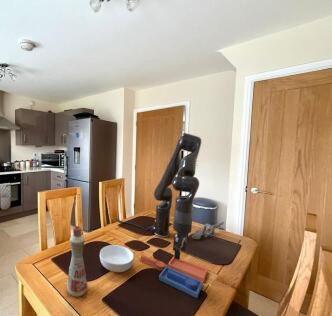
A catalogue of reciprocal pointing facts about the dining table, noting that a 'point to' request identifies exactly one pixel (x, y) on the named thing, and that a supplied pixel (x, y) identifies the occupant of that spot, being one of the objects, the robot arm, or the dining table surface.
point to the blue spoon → (182, 280)
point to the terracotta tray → (188, 268)
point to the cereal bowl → (116, 258)
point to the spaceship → (206, 230)
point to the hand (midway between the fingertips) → (179, 254)
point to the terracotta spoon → (153, 262)
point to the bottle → (77, 265)
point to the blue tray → (178, 285)
